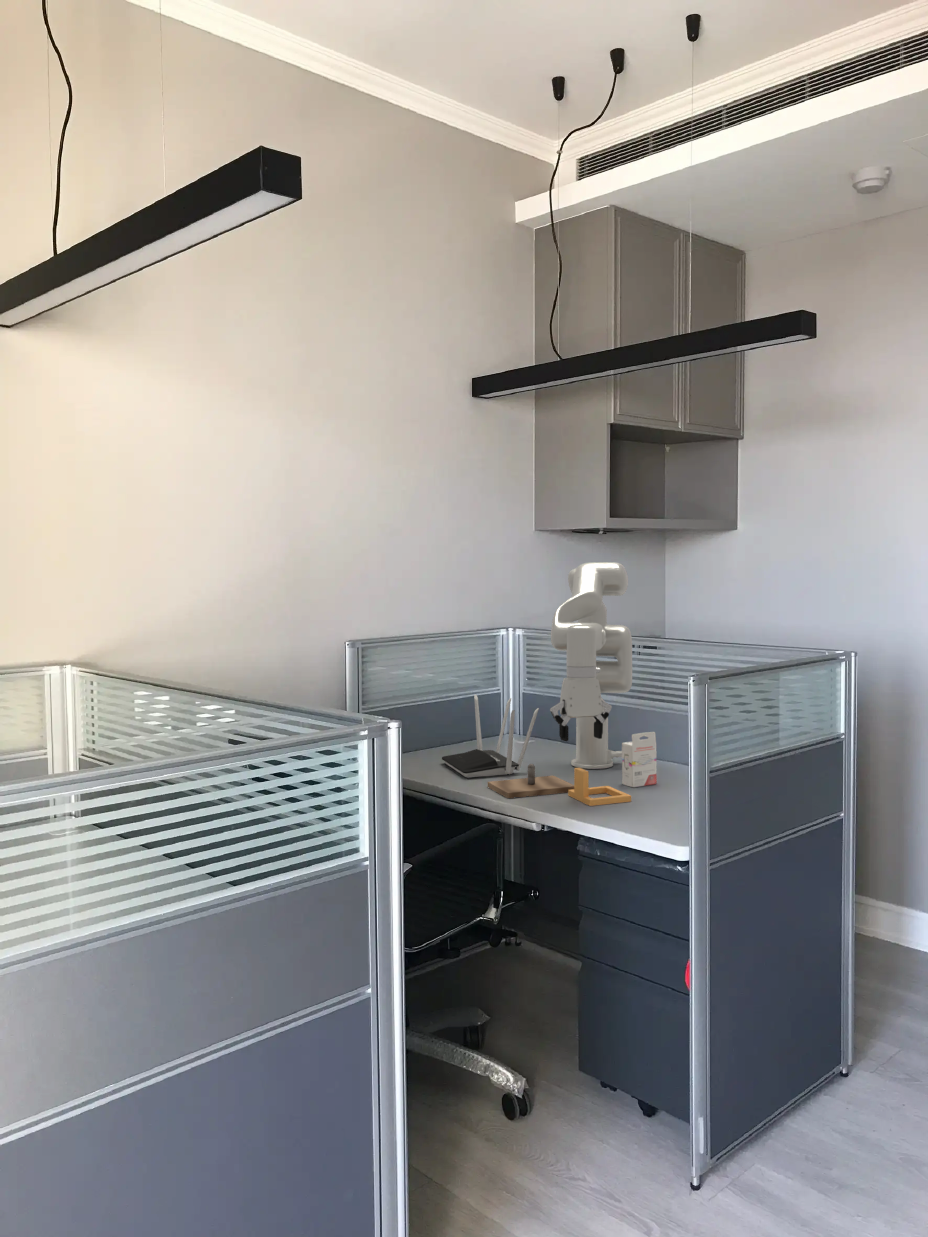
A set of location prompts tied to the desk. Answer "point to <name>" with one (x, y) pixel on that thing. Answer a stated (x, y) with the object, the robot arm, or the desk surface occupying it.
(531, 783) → the wooden peg board
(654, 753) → the ink cartridge box
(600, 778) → the desk surface
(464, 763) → the wireless router
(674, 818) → the desk surface
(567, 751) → the desk surface
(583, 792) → the link
